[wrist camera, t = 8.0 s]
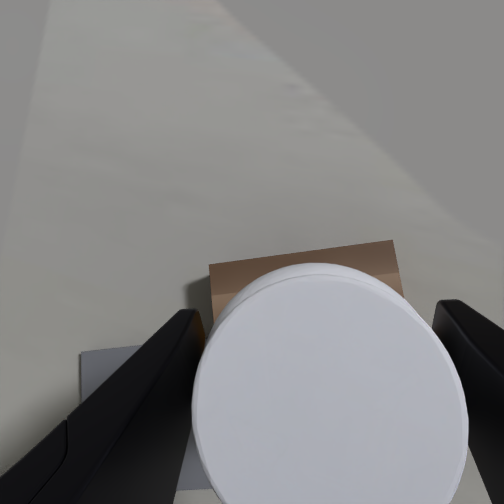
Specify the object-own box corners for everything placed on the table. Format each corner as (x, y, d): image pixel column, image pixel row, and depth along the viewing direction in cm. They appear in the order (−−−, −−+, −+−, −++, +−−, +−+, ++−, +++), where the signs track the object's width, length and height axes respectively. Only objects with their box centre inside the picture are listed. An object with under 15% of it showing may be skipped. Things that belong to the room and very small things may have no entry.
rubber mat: (220, 483, 20) (218, 488, 20) (88, 491, 21) (82, 496, 21) (209, 337, 22) (206, 338, 21) (86, 351, 23) (81, 351, 22)
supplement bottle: (230, 403, 15) (93, 539, 5) (265, 276, 16) (202, 196, 6) (364, 449, 14) (494, 721, 4) (394, 309, 14) (558, 277, 5)
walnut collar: (417, 430, 19) (432, 445, 17) (234, 443, 21) (225, 459, 18) (382, 249, 22) (392, 239, 19) (219, 270, 23) (208, 264, 20)
